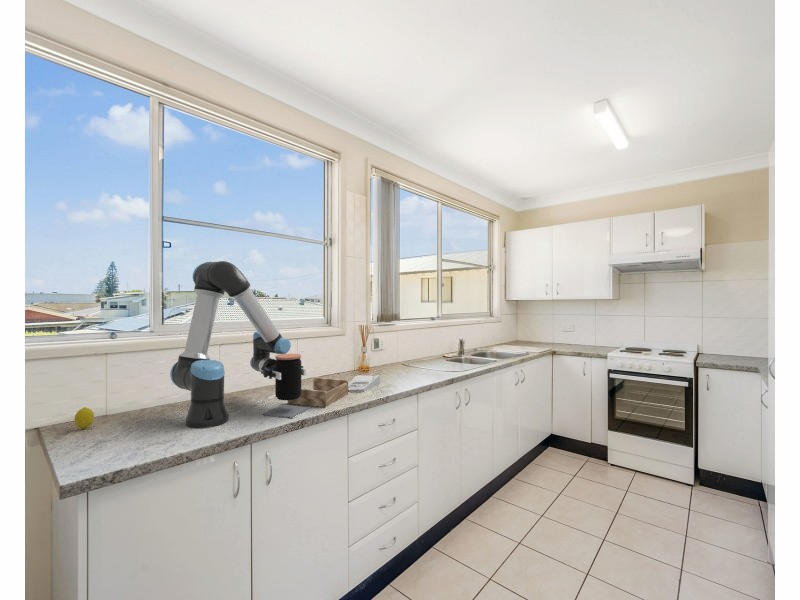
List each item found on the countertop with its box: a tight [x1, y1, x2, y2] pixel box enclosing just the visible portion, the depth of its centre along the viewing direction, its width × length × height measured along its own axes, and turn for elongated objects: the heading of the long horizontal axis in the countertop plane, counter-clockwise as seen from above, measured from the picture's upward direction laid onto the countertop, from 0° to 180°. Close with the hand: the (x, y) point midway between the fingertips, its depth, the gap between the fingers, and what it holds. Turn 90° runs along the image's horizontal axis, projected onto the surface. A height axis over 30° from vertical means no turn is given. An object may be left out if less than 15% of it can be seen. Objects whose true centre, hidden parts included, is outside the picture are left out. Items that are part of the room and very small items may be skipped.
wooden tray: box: [287, 377, 349, 408], centre depth 185 cm, size 19×24×7 cm
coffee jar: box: [274, 353, 302, 401], centre depth 164 cm, size 11×11×18 cm
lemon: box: [74, 406, 95, 430], centre depth 141 cm, size 6×6×8 cm
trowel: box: [348, 374, 381, 393], centre depth 207 cm, size 28×16×5 cm, turn 141°
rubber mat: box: [262, 403, 311, 419], centre depth 164 cm, size 14×14×1 cm
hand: (293, 374), depth 161 cm, fingers closed on coffee jar, 11 cm apart
